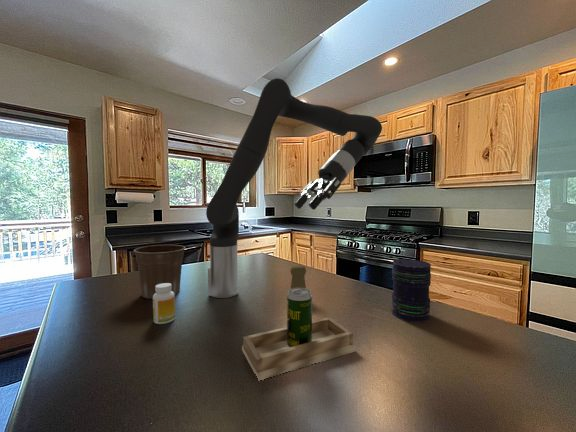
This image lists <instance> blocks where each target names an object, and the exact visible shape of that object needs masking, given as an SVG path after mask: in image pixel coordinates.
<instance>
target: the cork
mask: <svg viewBox="0 0 576 432" xmlns="http://www.w3.org/2000/svg"><path fill="white" fill-rule="evenodd" d="M289 270H290V275H291V283H290V288H289V290H290V289H293V288H306V289H307V285H306V279H305V276H306V274H307V269H306V267H305V266H304V265H301V264H295V265H292V266H291V267H290V269H289Z"/></svg>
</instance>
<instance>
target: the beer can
mask: <svg viewBox="0 0 576 432" xmlns="http://www.w3.org/2000/svg"><path fill="white" fill-rule="evenodd" d="M312 321H313V295H312V291H311V290H310V289H309V288H307V287H306V288H293V289H290V288H289V289H288V291H287V295H286V327H287V345H288V347H289V348H290V347H293V346H297V345H301V344H305V343H308V342H312Z"/></svg>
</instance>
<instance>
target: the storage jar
mask: <svg viewBox="0 0 576 432" xmlns="http://www.w3.org/2000/svg"><path fill="white" fill-rule="evenodd" d="M392 265H393V266H392V270H391V271H392V273H391V274H392V277H391V278H392V282H393V284H392V286H393V287H392V293H391V307H392V310H391V314H392V315H393V316H394V317H395V318H397V319H399V320H400V321H401V320H402V321H405V322H409V323H419V324H420V323H421V324H422V323H425V322H426V323H427V322H428V321H429V320H430V310H431V298H430V286H431V284H432V282H431V279H432V273H431V268H432V267H431V266H432V265H431V263H430V262H427V261H424V260H419V259H410V258H409V259H408V258H400V259H398V258H397V259H394V260H392Z"/></svg>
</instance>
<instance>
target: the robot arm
mask: <svg viewBox="0 0 576 432" xmlns="http://www.w3.org/2000/svg"><path fill="white" fill-rule="evenodd" d="M278 117H283V118H287V119H291V120H296V121H300V122H303V123H306V124H309V125H313V126H315V127H317V128H320V129H322V130H324V131H327V132H330V133H332V134H335V135H338V136H340V137H343V136H346V135H347V134H348V132H350V133H351V132H352V133H355V134H354V135H353V137H352V138H351V139H348V140H346V141H345V142H344V143H343V144H342V145H341V146H340V147H339V148H338V150H337V151H335V152H334V153H333V154H332V155H331V156H330V157H329V158H328V160H327V161H325V163H324V164H323V165H322V167H320V169H319V170H318V172H317V173H318V178H317V179H316V180H315V181H313V180H310V181H309V182H308V184H307V185H306V186H305V187H304V188H303V189H302V190H301V191H300V192H299V195H300V197H298V199H297V200H295V202H294V206H295V207H296V208H297V209H299V210H300V209H301V208H302V207H303V206H304V205H305V204H306V203H307V201H308V200H310V199H311V201H309V203H308V206H309V208H310V209H312V210H316V209H317V208H318V207H319V205H320V204H321V203H322V202H323V201H325V200H327V199H328V200H330V199H331V198H332V197H333V195H334V194H335V193H336V191H337V190H338V189H339V188H340V186H341V185H342V183H343V181H344V180H345V179H346V178H347V177H348V175H350V173H351V172H352V170H353V169H354V167H355V166H356V165H357V164H358V163H359V161H360V160H361V159H362V157H363V156H365V155H366V154H367V153H368V152H369V151H370V150H371V149H372V148H373V147H374V145H375V144H376V142H377V140H378V139H379V137H380V135H381V133H382V130H383V125H382V123H381V122H380V120H379V119H377V118H375V117H374V116H370V115H365V114H354V113H353V114H352V113H348V112H345V111H342V110H340V109H337V108H335V107H331V106H328V105H321V104H311V103H309V102H304V101H303V100H300V99H299V98H297V97H295V96H293V95H292V91H291V89H290V87H289V85H288V83H287V82H286V81H285V80H284V79H282V78H276V77H275V78H273V79H270V80H269V81H268V82H267V83H266V84H264V87H263V88H262V90H261V93H260V96H259V99H258V102H257V105H256V108H255V110H254V113H253V115H252V117H251V119H250V121H249V123H248V126H247V127H246V130H245V132H244V133H243V135H242V137H241V139H240V142H239V143H238V145H237V147H236V149H235V152H234V154H233V157H232V158H231V161H230V163H229V165H228V168H227V169H226V172H225V174H224V177H223V179H222V181H221V182H220V185H219V187H218V188H217V190H216V192H215V193H214V195H213V197H211V199H210V201H209V203H208V205H206V206H207V207H206V209H205V210H206V211H205V212H206V213H205V215H206V219H207V220H208V222H209V223H210V224H211V225H212V232H211V234H210V238H209V263H210V264H209V265H210V266H209V267H208V268H207V284H208V285H207V288H208V289H207V294H208V296H209V297H213V298H215V299H216V298H217V299H227V298H231V297H235V296H236V295H238V293H239V292H238V291H239V283H238V282H239V281H238V278H239V277H238V276H239V275H238V272H239V271H238V270H239V269H238V266H239V265H238V238H239V232H240V231H239V230H240V229H239V228H240V227H239V226H240V223H239V222H240V213H239V212H240V211H239V208H238V207H239V206H238V205H237V204H238V200H239V198H240V197H241V195H242V192H243V190H244V189H245V188H246V187H247V185H248V184H249V183H250V182H251V181H252V179H253V178H254V176H255V175H256V173H257V172H258V170H259V168H260V167H261V164H262V163H263V161H264V158H265V157H266V154H267V151H268V148H269V147H268V146H269V144H270V143H269V142H270V139H271V135H272V130H273V127H274V125H275V123H276V120H277V119H278Z"/></svg>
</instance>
